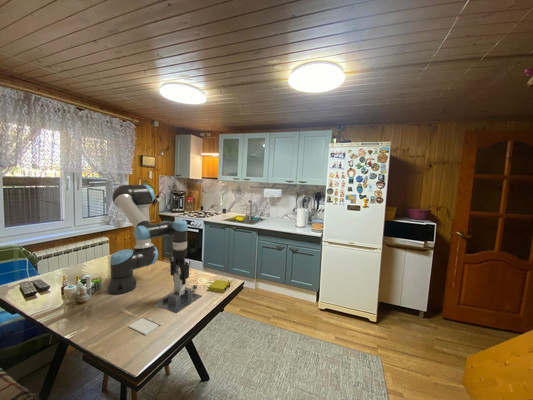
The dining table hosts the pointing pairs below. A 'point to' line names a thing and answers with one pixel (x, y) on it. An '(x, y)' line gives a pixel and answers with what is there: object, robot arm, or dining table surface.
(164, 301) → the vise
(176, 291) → the gray rectangular block
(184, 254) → the robot arm
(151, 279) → the dining table surface
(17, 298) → the dining table surface
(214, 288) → the bracket
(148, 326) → the mat
